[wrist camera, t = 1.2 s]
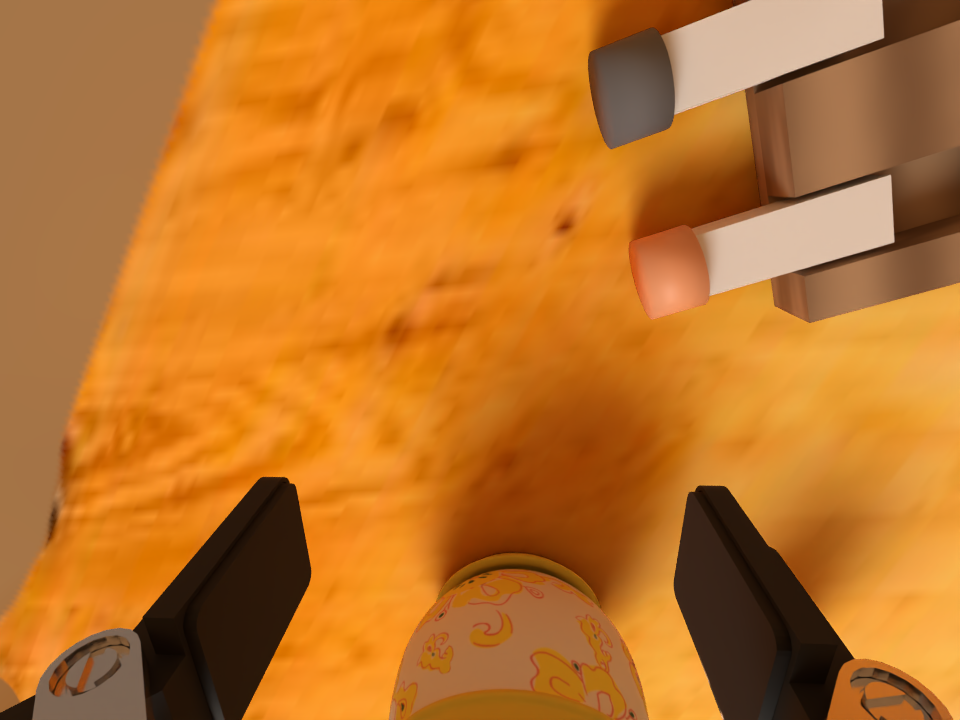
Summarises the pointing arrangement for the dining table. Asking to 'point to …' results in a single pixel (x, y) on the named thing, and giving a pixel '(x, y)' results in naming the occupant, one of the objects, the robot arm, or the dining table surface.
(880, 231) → the rust knob
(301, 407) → the dining table surface
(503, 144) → the dining table surface
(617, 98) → the white and grey bar
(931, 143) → the brown wooden tray
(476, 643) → the flowerpot
